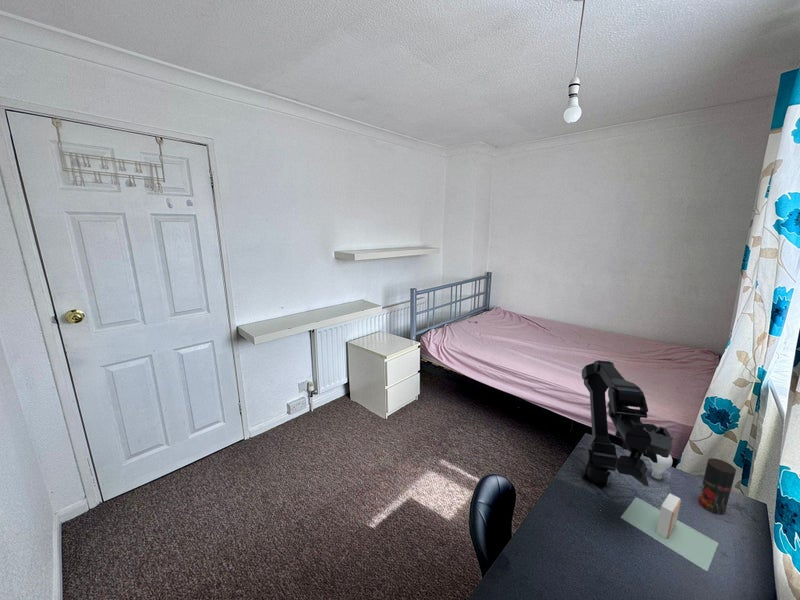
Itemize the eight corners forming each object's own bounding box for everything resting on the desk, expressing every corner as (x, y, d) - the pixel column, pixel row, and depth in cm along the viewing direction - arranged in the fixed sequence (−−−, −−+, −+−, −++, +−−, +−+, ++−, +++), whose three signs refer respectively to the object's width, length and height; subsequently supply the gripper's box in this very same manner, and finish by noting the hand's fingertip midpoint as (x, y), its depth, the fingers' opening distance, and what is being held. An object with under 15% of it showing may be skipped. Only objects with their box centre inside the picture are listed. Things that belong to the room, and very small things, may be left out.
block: (655, 532, 90) (661, 505, 88) (664, 518, 94) (669, 493, 92) (667, 539, 88) (673, 512, 86) (675, 525, 92) (681, 499, 90)
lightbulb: (644, 479, 109) (650, 451, 106) (644, 468, 114) (649, 441, 112) (669, 488, 105) (675, 459, 103) (667, 475, 111) (673, 448, 108)
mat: (620, 518, 95) (620, 517, 95) (635, 498, 102) (636, 496, 102) (706, 573, 80) (707, 571, 80) (718, 544, 87) (718, 543, 87)
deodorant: (730, 517, 95) (741, 474, 91) (706, 514, 96) (717, 471, 93) (715, 500, 100) (725, 459, 97) (693, 498, 102) (702, 457, 98)
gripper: (651, 453, 79) (678, 507, 80) (669, 407, 90) (693, 455, 90) (603, 447, 88) (629, 495, 89) (625, 406, 99) (647, 449, 100)
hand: (651, 473), depth 92 cm, fingers open, 9 cm apart
